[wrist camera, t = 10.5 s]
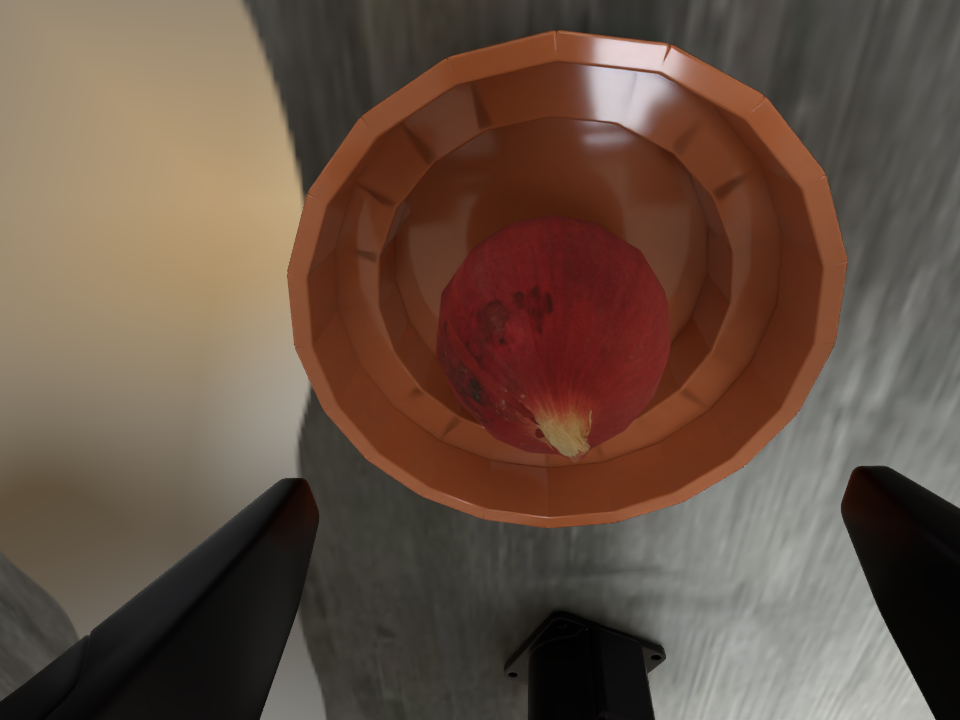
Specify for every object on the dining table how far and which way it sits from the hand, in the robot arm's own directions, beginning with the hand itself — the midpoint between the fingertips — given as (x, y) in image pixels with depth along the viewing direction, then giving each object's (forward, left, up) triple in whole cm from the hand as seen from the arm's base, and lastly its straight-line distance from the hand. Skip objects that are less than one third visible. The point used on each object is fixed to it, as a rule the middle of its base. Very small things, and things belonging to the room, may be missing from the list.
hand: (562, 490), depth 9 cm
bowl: (0, 0, -10) cm, 10 cm away
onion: (0, 0, -9) cm, 9 cm away
